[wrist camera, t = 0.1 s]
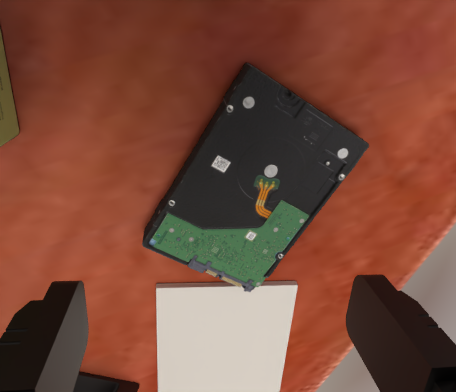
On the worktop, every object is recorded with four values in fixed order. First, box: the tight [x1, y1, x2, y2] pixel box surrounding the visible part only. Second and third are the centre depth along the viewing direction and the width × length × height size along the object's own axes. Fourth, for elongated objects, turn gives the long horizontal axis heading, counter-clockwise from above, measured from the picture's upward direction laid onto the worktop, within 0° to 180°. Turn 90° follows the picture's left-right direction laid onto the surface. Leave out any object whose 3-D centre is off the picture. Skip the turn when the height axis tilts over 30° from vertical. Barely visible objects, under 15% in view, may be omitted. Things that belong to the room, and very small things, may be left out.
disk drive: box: [142, 63, 369, 292], centre depth 28 cm, size 10×3×15 cm
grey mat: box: [156, 281, 298, 392], centre depth 35 cm, size 14×12×1 cm
